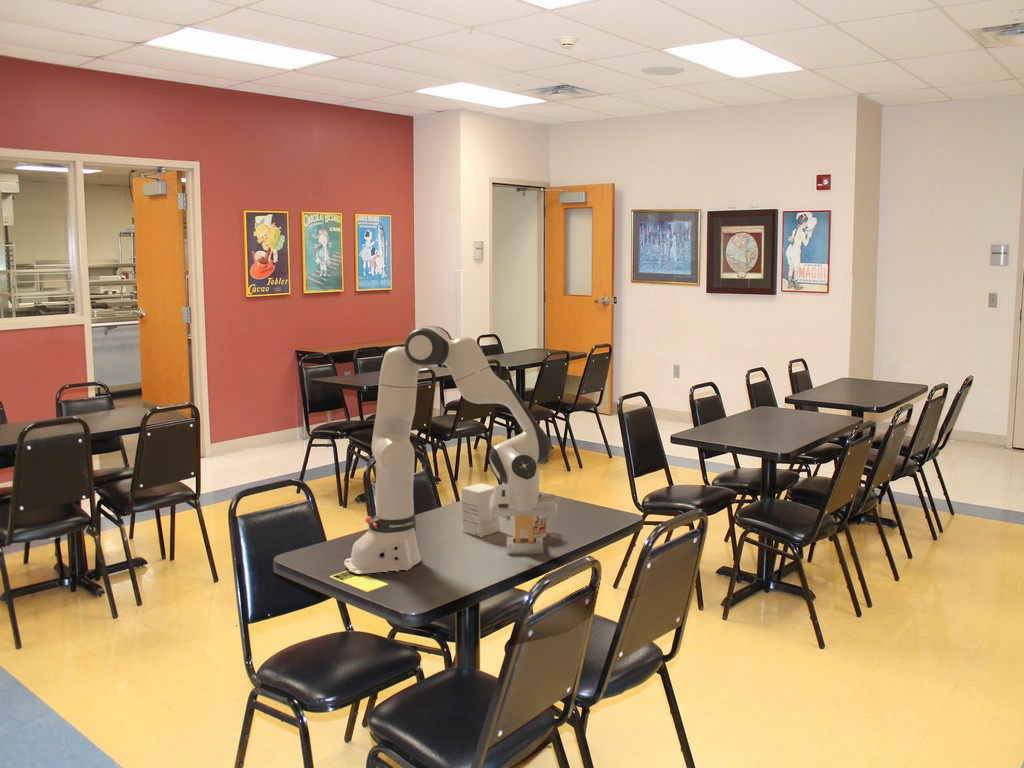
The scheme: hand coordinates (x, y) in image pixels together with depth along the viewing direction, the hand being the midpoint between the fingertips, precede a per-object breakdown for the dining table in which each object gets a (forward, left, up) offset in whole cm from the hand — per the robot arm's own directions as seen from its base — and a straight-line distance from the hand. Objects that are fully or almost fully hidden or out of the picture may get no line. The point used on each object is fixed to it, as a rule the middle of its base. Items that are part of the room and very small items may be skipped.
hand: (523, 518), depth 265 cm
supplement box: (-2, +27, -11) cm, 29 cm away
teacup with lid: (+12, +15, -11) cm, 22 cm away
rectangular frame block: (+2, +3, -11) cm, 12 cm away
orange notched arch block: (+2, +3, -11) cm, 12 cm away
